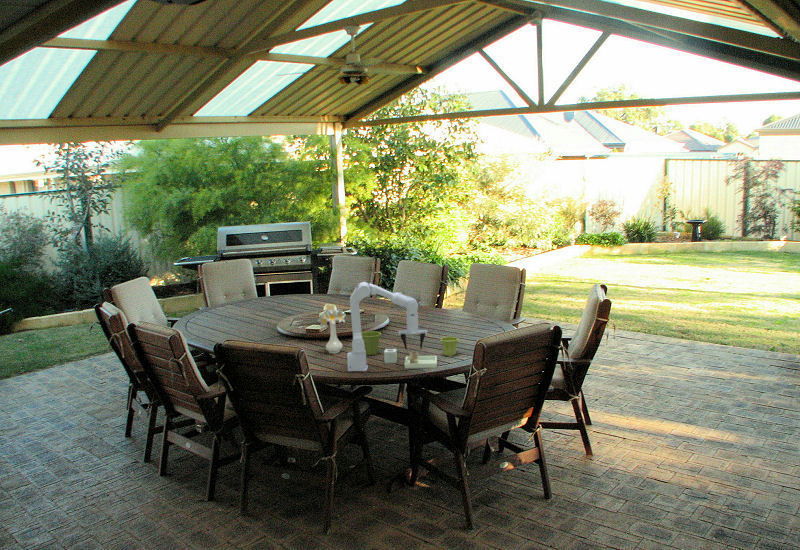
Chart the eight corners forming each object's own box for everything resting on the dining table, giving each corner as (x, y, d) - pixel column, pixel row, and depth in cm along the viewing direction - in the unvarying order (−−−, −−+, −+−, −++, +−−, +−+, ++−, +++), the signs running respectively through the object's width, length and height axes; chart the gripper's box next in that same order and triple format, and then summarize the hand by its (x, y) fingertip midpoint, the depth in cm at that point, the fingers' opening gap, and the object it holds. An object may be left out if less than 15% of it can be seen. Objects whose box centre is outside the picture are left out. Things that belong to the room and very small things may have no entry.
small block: (410, 365, 317) (409, 353, 316) (410, 363, 321) (409, 351, 320) (418, 365, 317) (417, 353, 316) (418, 362, 321) (417, 351, 320)
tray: (404, 369, 313) (404, 364, 313) (406, 361, 327) (406, 356, 327) (436, 368, 312) (436, 363, 312) (436, 360, 326) (436, 355, 326)
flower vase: (316, 356, 343) (313, 311, 340) (331, 347, 360) (328, 305, 357) (337, 357, 339) (335, 312, 335) (352, 348, 356) (349, 305, 352)
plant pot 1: (379, 356, 337) (378, 336, 336) (358, 356, 340) (356, 336, 338) (384, 350, 349) (383, 331, 347) (363, 350, 351) (362, 331, 349)
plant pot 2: (456, 351, 341) (455, 336, 339) (460, 356, 332) (460, 340, 330) (439, 353, 339) (439, 337, 338) (443, 357, 330) (442, 341, 329)
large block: (384, 363, 325) (384, 352, 324) (385, 360, 331) (385, 349, 330) (396, 363, 324) (395, 351, 324) (397, 359, 330) (396, 348, 330)
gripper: (397, 324, 312) (398, 350, 314) (426, 323, 311) (427, 350, 313) (398, 321, 319) (399, 347, 321) (426, 320, 318) (427, 346, 320)
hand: (413, 348), depth 318 cm, fingers open, 7 cm apart
